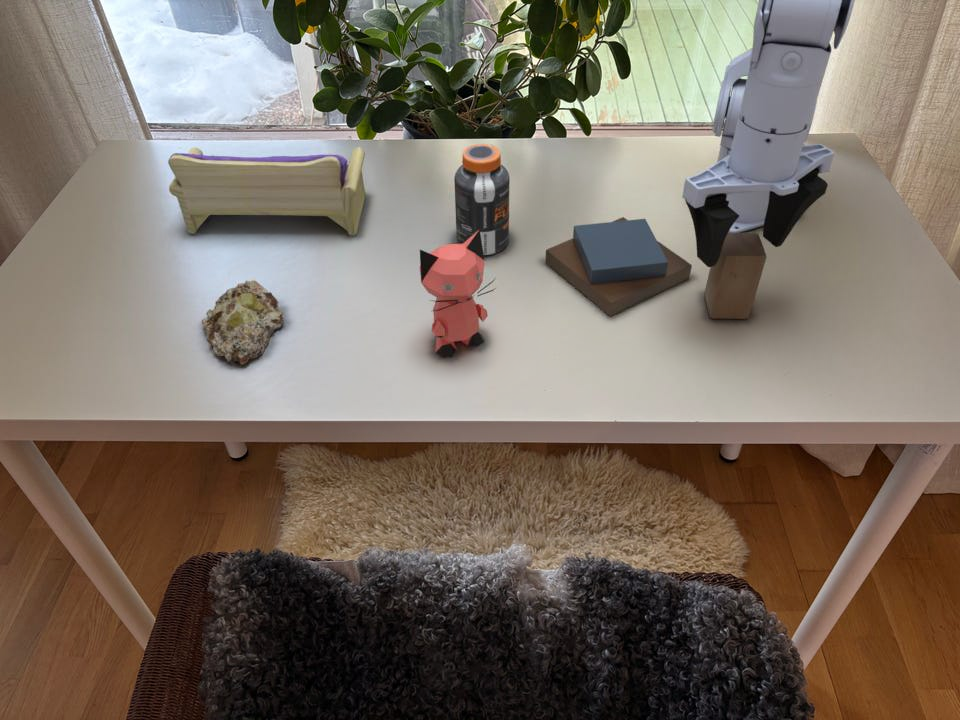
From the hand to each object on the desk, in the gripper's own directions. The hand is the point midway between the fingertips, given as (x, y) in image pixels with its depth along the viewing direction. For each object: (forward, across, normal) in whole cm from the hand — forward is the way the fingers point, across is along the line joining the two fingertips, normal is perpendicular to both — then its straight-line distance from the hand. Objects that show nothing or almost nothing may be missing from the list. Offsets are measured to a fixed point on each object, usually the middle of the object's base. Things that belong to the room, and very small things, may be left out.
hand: (739, 250), depth 74 cm
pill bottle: (+7, -18, +21) cm, 28 cm away
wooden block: (+7, 0, 0) cm, 7 cm away
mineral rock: (+7, -46, +17) cm, 49 cm away
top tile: (+5, -7, +10) cm, 13 cm away
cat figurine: (+7, -27, +7) cm, 29 cm away
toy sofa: (+7, -38, +36) cm, 53 cm away
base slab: (+7, -7, +10) cm, 14 cm away
